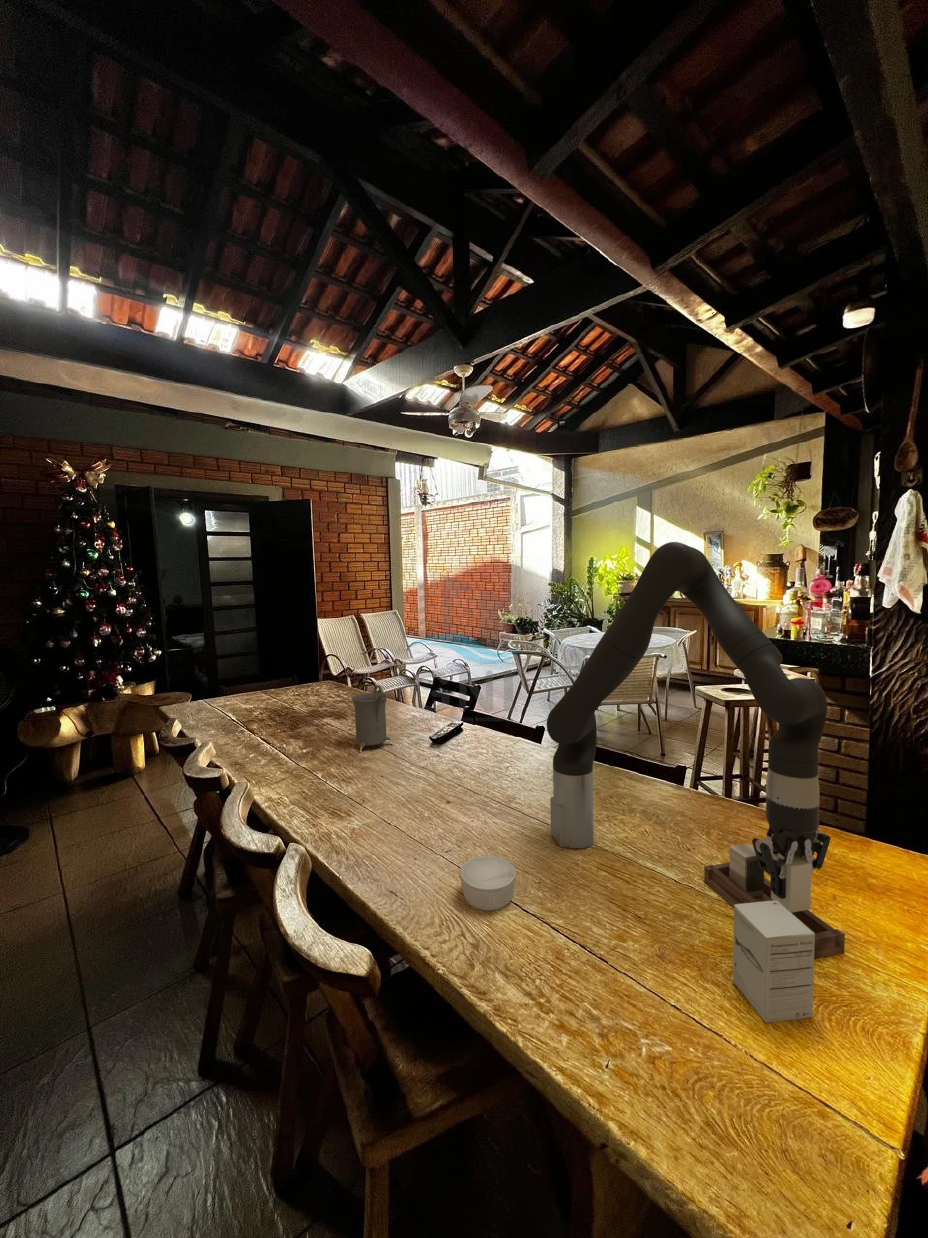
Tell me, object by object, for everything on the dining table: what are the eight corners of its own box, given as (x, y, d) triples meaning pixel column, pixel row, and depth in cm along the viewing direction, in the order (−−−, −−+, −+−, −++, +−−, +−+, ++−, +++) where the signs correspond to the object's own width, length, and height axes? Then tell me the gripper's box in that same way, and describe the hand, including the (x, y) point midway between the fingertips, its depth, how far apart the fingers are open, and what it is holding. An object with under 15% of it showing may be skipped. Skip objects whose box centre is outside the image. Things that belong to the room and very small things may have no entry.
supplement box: (730, 982, 75) (731, 902, 74) (776, 977, 76) (778, 898, 75) (764, 1025, 68) (765, 937, 67) (815, 1019, 68) (817, 932, 68)
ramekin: (500, 923, 90) (499, 895, 89) (449, 903, 96) (448, 877, 95) (526, 890, 99) (525, 864, 99) (478, 874, 105) (477, 850, 105)
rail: (797, 962, 79) (798, 907, 78) (704, 881, 100) (704, 837, 99) (844, 952, 80) (845, 898, 80) (742, 875, 102) (743, 832, 101)
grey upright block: (790, 913, 83) (791, 867, 82) (768, 896, 87) (768, 852, 86) (810, 909, 83) (811, 863, 83) (787, 892, 88) (788, 849, 87)
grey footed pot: (344, 745, 193) (341, 682, 191) (378, 737, 202) (375, 676, 201) (366, 757, 178) (363, 689, 177) (401, 748, 188) (399, 683, 186)
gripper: (773, 811, 79) (772, 914, 80) (848, 801, 81) (845, 901, 83) (738, 792, 86) (738, 887, 87) (808, 783, 89) (806, 875, 90)
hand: (790, 893), depth 85 cm, fingers closed on grey upright block, 4 cm apart
